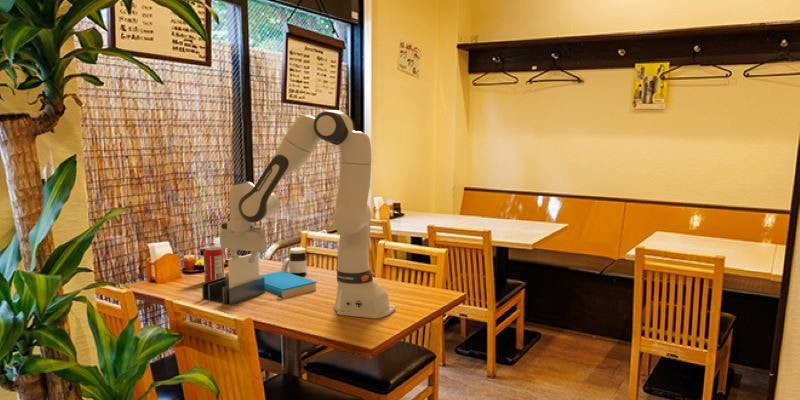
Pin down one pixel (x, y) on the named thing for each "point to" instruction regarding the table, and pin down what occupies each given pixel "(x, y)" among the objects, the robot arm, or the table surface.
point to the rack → (231, 290)
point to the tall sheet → (242, 270)
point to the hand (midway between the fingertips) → (243, 261)
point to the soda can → (213, 263)
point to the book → (287, 284)
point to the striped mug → (296, 262)
